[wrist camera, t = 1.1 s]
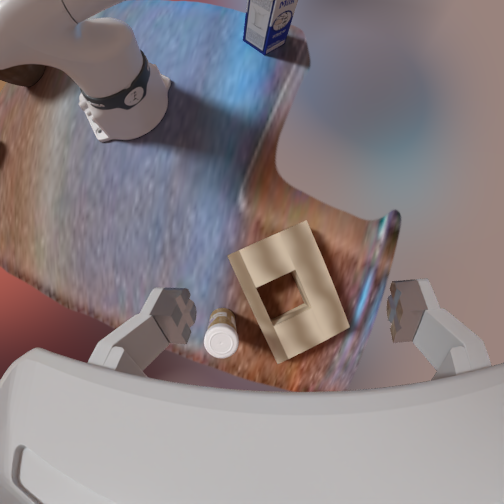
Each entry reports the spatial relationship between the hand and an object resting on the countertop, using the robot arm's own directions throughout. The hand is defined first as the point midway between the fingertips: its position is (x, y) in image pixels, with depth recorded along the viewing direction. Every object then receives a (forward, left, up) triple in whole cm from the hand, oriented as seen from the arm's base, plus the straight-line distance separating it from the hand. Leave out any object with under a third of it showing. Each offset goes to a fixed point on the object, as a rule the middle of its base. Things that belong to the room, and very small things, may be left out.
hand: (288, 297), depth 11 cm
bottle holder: (+9, +3, -38) cm, 39 cm away
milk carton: (-32, +38, -38) cm, 63 cm away
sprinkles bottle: (+5, -9, -38) cm, 40 cm away
